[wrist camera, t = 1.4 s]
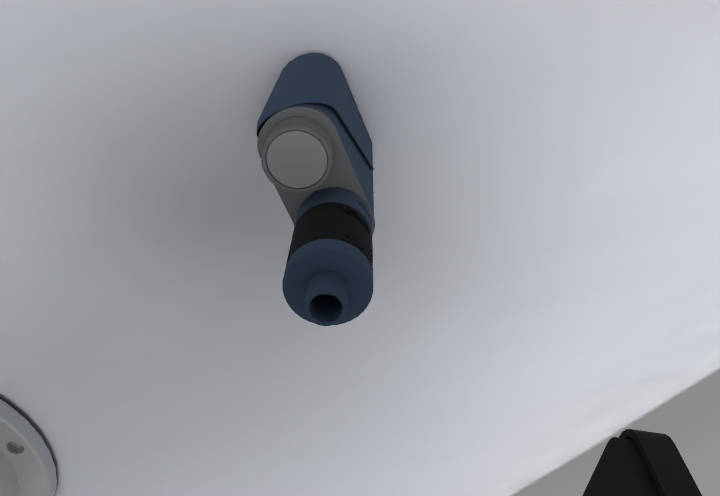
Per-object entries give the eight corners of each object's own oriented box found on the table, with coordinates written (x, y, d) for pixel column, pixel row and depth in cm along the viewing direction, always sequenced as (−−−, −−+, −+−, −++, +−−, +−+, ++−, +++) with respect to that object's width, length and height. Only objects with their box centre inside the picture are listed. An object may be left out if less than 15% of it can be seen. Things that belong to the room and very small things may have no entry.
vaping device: (324, 182, 27) (298, 361, 17) (270, 63, 25) (201, 185, 15) (382, 160, 27) (392, 331, 16) (332, 38, 25) (307, 144, 14)
